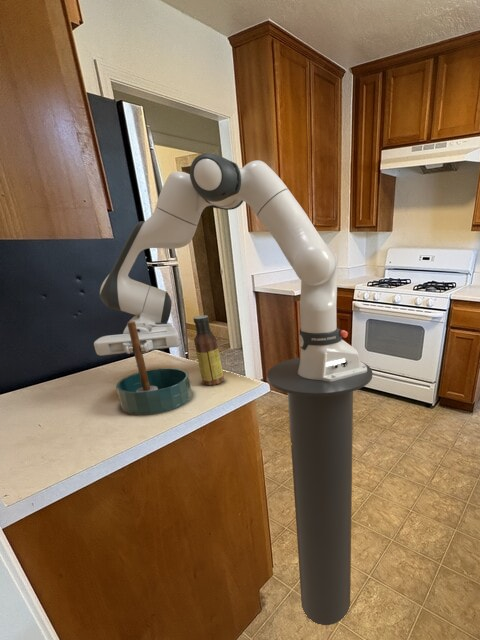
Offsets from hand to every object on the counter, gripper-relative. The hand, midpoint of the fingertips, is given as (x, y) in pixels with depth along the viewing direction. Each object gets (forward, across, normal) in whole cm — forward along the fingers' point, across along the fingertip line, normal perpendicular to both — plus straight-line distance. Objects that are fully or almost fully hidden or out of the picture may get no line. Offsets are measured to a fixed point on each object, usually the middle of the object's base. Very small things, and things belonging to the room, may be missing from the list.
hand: (137, 349), depth 88 cm
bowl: (0, +2, +14) cm, 15 cm away
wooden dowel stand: (-1, 0, +12) cm, 12 cm away
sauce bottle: (-7, +17, +15) cm, 24 cm away
